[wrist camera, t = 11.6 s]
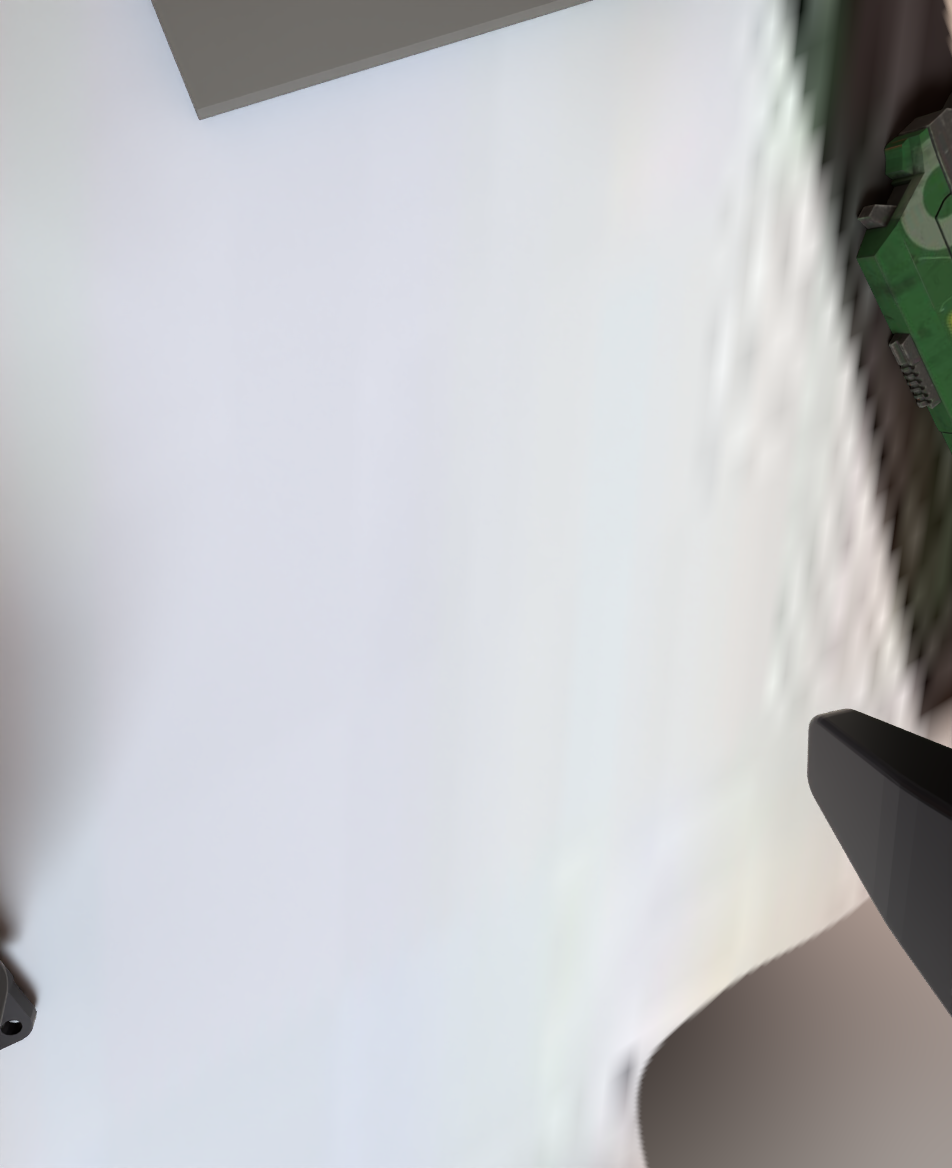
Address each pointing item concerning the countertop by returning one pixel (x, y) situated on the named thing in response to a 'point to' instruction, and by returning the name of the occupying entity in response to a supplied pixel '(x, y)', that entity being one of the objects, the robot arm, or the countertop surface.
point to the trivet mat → (314, 40)
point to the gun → (917, 259)
